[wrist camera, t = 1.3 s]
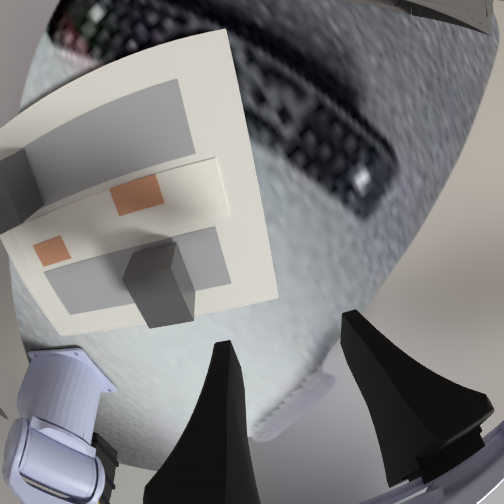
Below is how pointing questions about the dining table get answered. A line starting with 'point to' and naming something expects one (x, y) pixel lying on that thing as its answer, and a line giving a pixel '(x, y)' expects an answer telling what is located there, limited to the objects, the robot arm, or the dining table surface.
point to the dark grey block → (160, 286)
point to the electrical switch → (444, 11)
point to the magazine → (105, 465)
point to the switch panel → (141, 186)
